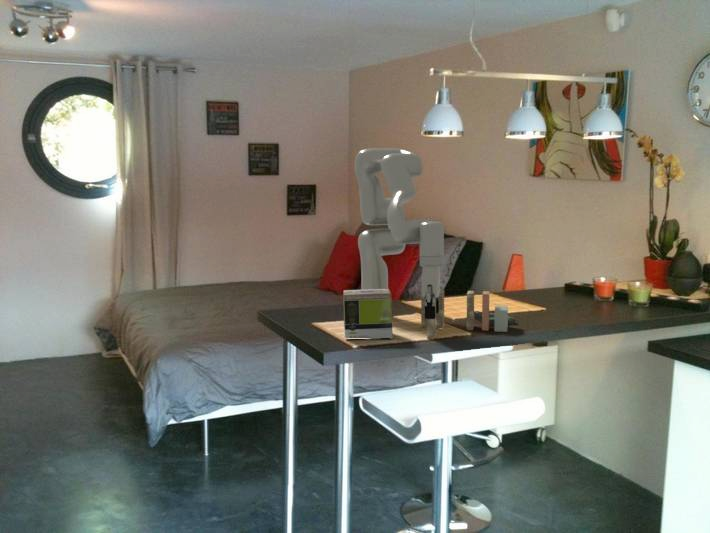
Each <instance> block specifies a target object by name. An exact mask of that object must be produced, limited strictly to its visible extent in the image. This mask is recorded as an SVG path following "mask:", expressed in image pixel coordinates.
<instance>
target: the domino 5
mask: <svg viewBox="0 0 710 533" xmlns="http://www.w3.org/2000/svg"><path fill="white" fill-rule="evenodd" d="M481 297H482V300H481V301H482V302H481V303H482V306H481V310H482V311H481V312H482V323H481V331H489V329H490V326H489V311H490V290H489V291H488V290H487V291H486V290H483V291H482V296H481Z"/></svg>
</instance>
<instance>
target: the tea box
mask: <svg viewBox="0 0 710 533" xmlns="http://www.w3.org/2000/svg"><path fill="white" fill-rule="evenodd" d="M342 292H343V296H342V298H343V324H344V325H343V327H344V337H345V338H390V339H391V340H392V339H393V337H394V336H393V334H394V333H393V316H392V314H393V306H392V302H393V300H392V293H391V291H390V288H388V289H365V290H362V289H344V290H343V291H342Z"/></svg>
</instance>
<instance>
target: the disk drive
mask: <svg viewBox="0 0 710 533" xmlns="http://www.w3.org/2000/svg"><path fill="white" fill-rule="evenodd" d="M474 320H476V321H478V322H479V323H481V324H482V311H478V310H474ZM494 324H495V309H494V310H489V327H491V326H494ZM509 325H516V319H515V317H513V316H512V315H509V314H508V326H509Z"/></svg>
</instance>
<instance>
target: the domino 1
mask: <svg viewBox="0 0 710 533" xmlns="http://www.w3.org/2000/svg"><path fill="white" fill-rule="evenodd" d="M425 299H426V296H425V297H424V298H422V297H421V296H420V304H421V306H420V307H421V308H420V311H421V312H420V313H421V314H420V316H421V318H420V319H421V321H420V322H421V323H420V328H421V329H427V319H425Z"/></svg>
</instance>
